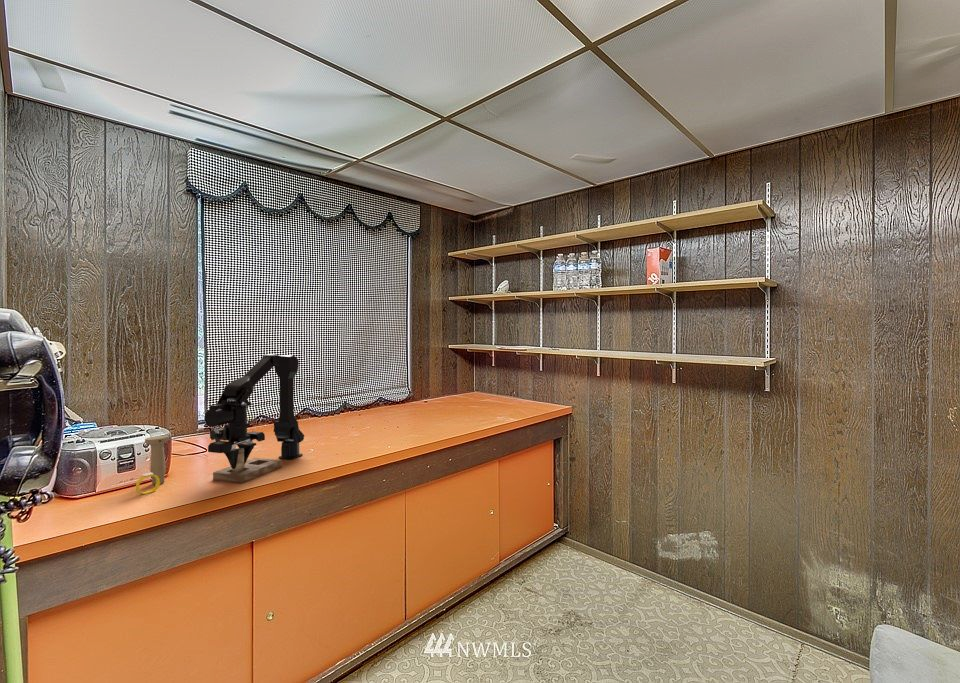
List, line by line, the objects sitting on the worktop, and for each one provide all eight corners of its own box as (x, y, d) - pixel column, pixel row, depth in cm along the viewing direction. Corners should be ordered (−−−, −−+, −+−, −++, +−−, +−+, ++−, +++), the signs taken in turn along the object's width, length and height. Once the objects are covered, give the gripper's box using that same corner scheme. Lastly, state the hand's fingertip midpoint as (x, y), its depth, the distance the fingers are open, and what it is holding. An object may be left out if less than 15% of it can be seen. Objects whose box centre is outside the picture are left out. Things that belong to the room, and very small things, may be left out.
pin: (238, 470, 156) (237, 447, 156) (247, 471, 155) (246, 448, 155) (229, 474, 152) (229, 450, 152) (238, 475, 151) (237, 451, 151)
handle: (172, 482, 149) (171, 436, 148) (149, 487, 144) (148, 440, 143) (166, 479, 152) (165, 434, 151) (143, 484, 146) (142, 438, 146)
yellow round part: (140, 497, 136) (138, 478, 136) (135, 495, 138) (133, 476, 137) (162, 489, 142) (160, 471, 141) (157, 488, 143) (155, 470, 142)
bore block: (254, 464, 168) (254, 457, 168) (281, 467, 165) (281, 460, 165) (213, 479, 151) (212, 472, 151) (242, 483, 148) (241, 475, 147)
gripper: (240, 414, 164) (241, 457, 165) (194, 425, 147) (195, 473, 147) (265, 416, 161) (266, 460, 162) (221, 427, 143) (222, 476, 144)
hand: (238, 466), depth 154 cm, fingers closed on pin, 3 cm apart
